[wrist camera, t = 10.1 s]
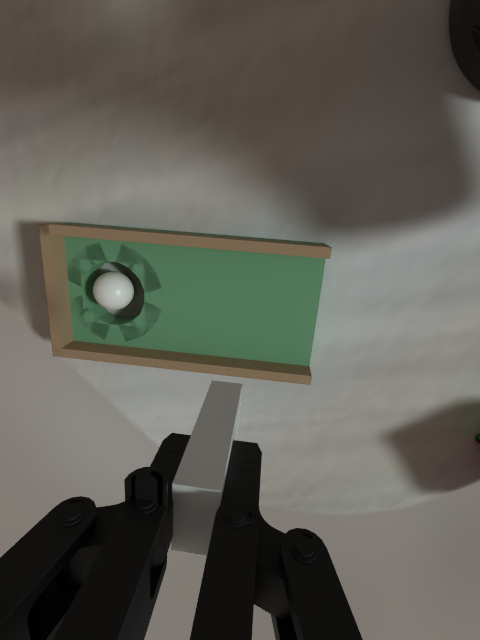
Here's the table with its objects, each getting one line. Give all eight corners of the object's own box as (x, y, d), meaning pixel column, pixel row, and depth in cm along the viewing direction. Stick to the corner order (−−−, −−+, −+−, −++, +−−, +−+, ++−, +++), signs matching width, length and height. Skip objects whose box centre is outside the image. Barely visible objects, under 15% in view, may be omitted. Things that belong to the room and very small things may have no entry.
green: (68, 222, 36) (38, 223, 32) (323, 243, 34) (331, 247, 30) (78, 339, 41) (52, 356, 36) (305, 364, 39) (310, 384, 34)
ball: (142, 277, 38) (108, 274, 39) (126, 269, 34) (87, 265, 34) (137, 313, 38) (103, 309, 38) (120, 309, 34) (82, 305, 34)
